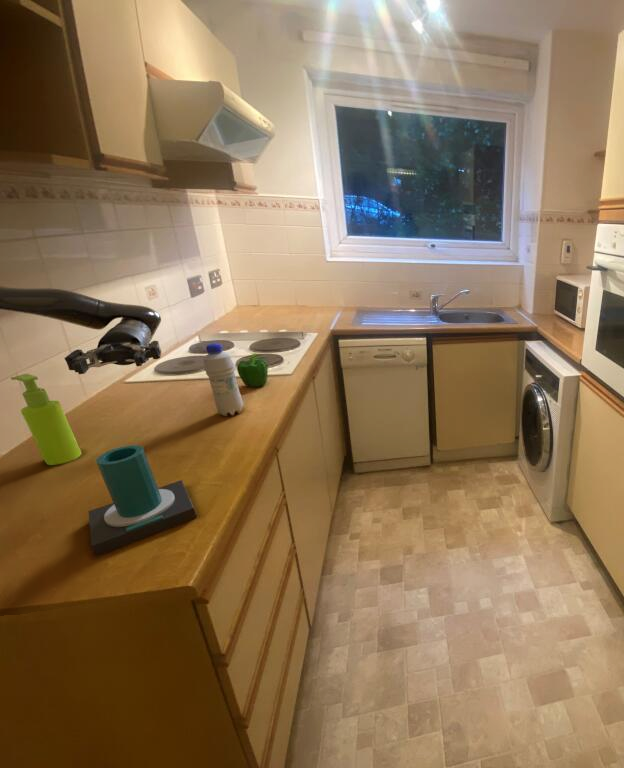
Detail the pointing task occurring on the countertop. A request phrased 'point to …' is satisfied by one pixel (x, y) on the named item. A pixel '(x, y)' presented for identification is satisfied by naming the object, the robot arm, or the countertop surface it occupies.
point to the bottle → (222, 380)
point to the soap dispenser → (48, 424)
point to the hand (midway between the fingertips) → (108, 365)
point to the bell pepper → (253, 371)
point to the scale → (139, 520)
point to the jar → (129, 480)
